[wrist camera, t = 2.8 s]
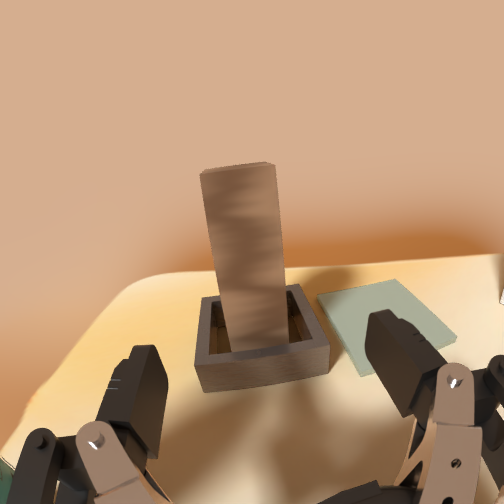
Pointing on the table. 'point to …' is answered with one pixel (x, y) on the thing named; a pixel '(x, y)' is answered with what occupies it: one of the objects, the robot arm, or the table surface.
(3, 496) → the beverage bottle
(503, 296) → the small box
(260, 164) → the walnut post
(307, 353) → the holder
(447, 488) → the robot arm
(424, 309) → the mat
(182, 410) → the table surface
